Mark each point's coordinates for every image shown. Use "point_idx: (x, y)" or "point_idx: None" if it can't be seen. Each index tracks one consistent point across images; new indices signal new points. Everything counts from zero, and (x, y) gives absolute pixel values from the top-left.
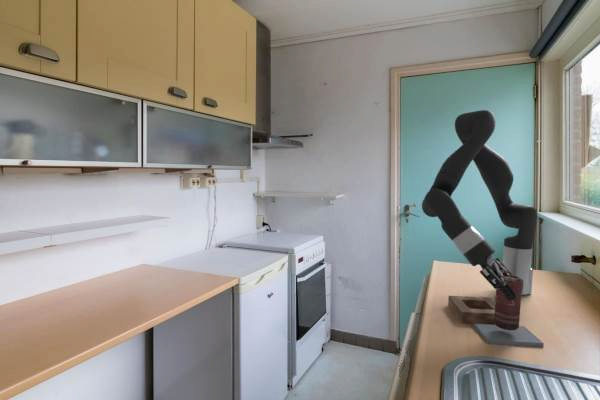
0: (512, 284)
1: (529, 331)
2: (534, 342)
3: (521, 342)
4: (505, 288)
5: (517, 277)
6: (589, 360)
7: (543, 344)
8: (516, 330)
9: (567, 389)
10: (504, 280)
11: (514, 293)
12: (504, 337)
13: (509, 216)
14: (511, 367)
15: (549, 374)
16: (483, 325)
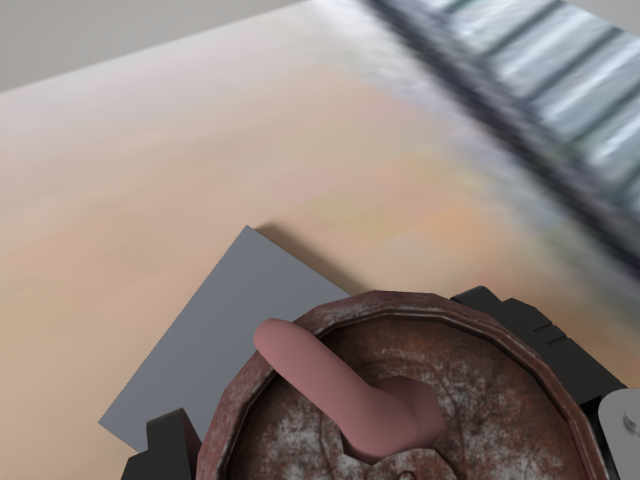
0: (530, 349)
1: (155, 355)
2: (287, 254)
3: (348, 296)
4: (615, 387)
5: (224, 465)
6: (187, 54)
7: (247, 227)
8: None
9: (528, 11)
10: (619, 473)
11: (497, 307)
12: None
13: None
14: (597, 199)
15: (490, 90)
16: None
